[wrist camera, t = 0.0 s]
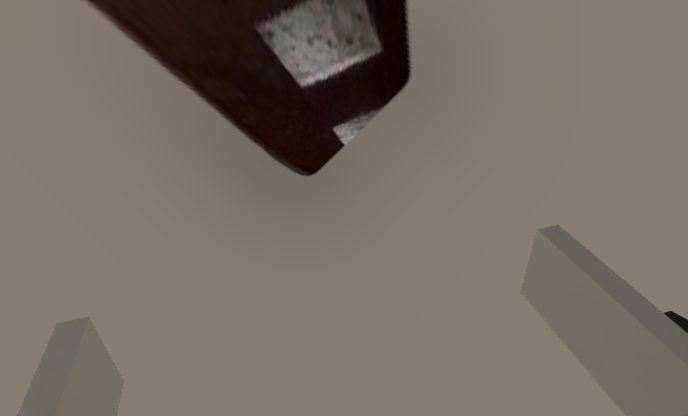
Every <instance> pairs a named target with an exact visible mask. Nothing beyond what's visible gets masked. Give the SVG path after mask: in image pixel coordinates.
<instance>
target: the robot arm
mask: <svg viewBox="0 0 688 416" xmlns="http://www.w3.org/2000/svg"><path fill="white" fill-rule="evenodd" d="M521 294H522V295H523V296H524V297H525V298H526V299H527V301H528V302H529V303H530V304H531V305H532V306H533V307H534V309H535V310H536V311H537V312H538V313H539V315H540V316H541V317H542V318H543V319H544V320H545V322H546V323H547V324H548V325H549V326H550V328H551V329H552V330H553V331H554V332H555V333H556V335H557V336H558V337H559V338H560V339H561V340H562V342H563V343H564V344H565V345H566V346H567V347H568V349H569V350H570V351H571V352H572V353H573V355H575V357H576V358H577V359H578V360H579V362H580V363H581V364H582V365H583V366H584V367H585V369H586V370H587V371H588V372H589V373H590V374H591V376H592V377H593V378H594V379H595V380H596V381H597V383H598V384H599V385H600V386H601V387H602V389H603V390H604V391H605V392H606V393H607V394H608V396H609V397H610V398H611V399H612V400H613V401H614V403H615V404H616V405H617V406H618V407H619V408H620V410H621V411H622V412H623V413H624V414H625V415H626V416H688V320H687V319H685V318H683V317H682V316H680V315H678V314H676V313H674V312H672V311H669V312H665V313H663V312H661V311H660V310H659V309H658V308H657V307H655V306H654V305H653V304H652V303H651V302H649V301H648V300H647V299H646V298H645V297H643V296H642V295H641V294H640V293H639V292H637V291H636V290H635V289H634V288H633V287H632V286H630V285H629V284H628V283H627V282H626V281H624V280H623V279H622V278H621V277H620V276H619V275H617V274H616V273H615V272H614V271H613V270H611V269H610V268H609V267H608V266H607V265H605V264H604V263H603V262H602V261H601V260H599V259H598V258H597V257H596V256H595V255H593V254H592V253H591V252H590V251H589V250H588V249H586V248H585V247H584V246H583V245H582V244H580V243H579V242H578V241H577V240H576V239H574V238H573V237H572V236H571V235H570V234H569V233H567V232H566V231H565V230H564V229H562V228H561V227H560V226H559V225H556V226H551V227H546V228H540V229H537V232H536V236H535V240H534V243H533V247H532V251H531V255H530V258H529V262H528V265H527V269H526V273H525V277H524V280H523V284H522V288H521ZM123 384H124V380H123V378H122V377H121V375H120V373H119V371H118V369H117V368H116V366H115V364H114V362H113V360H112V358H111V357H110V355H109V353H108V351H107V349H106V347H105V345H104V344H103V342H102V340H101V338H100V336H99V334H98V332H97V331H96V329H95V327H94V325H93V324H92V322H91V320H90V318H89V317H87V318H81V319H77V320H72V321H66V322H61V323H57V324H56V326H55V328H54V331H53V333H52V335H51V338H50V340H49V342H48V345H47V347H46V350H45V352H44V354H43V356H42V359H41V361H40V363H39V366H38V368H37V370H36V372H35V375H34V377H33V379H32V382H31V384H30V386H29V389H28V391H27V394H26V396H25V398H24V401H23V403H22V405H21V407H20V410H19V412H18V414H17V416H117V411H118V407H119V402H120V398H121V393H122V389H123Z"/></svg>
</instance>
